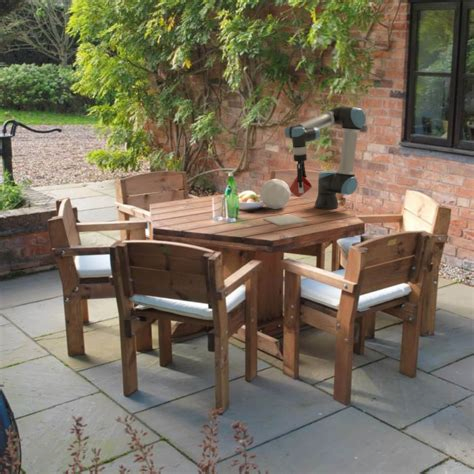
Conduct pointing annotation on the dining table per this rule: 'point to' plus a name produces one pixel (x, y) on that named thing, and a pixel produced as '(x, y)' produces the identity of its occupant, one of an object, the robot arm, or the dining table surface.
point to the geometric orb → (275, 193)
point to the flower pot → (295, 188)
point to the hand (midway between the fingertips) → (302, 190)
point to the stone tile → (285, 220)
